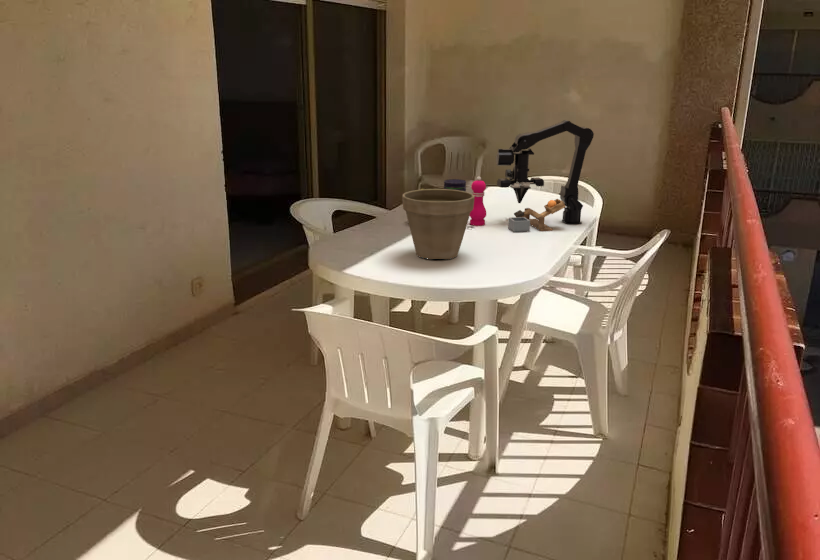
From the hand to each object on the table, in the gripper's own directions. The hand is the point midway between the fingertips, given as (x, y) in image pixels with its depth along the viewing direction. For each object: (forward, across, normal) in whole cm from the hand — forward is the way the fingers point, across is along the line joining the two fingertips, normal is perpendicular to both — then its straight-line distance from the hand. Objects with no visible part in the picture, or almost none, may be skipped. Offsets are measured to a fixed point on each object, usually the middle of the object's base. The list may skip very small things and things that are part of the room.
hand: (519, 202), depth 277 cm
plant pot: (+9, +44, +39) cm, 60 cm away
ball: (-1, -10, +11) cm, 15 cm away
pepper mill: (+9, +17, -2) cm, 20 cm away
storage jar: (+9, +22, -21) cm, 32 cm away
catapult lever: (+3, -7, +6) cm, 10 cm away
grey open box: (+9, +4, +11) cm, 15 cm away
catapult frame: (+9, -7, +5) cm, 12 cm away
